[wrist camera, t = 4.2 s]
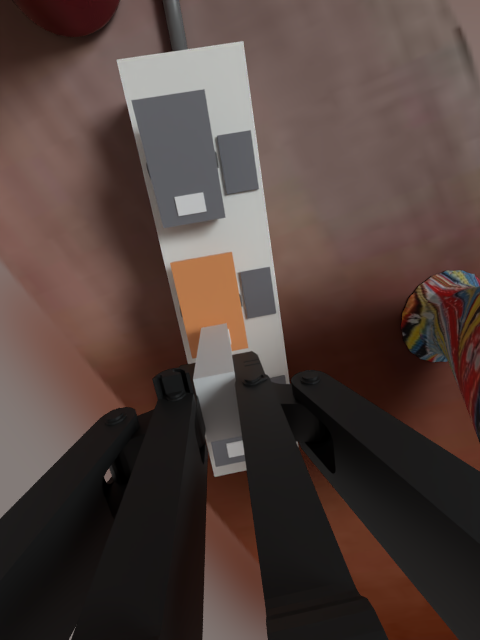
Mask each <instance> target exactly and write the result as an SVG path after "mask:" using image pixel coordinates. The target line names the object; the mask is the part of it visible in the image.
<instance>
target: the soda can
mask: <svg viewBox="0 0 480 640" xmlns="http://www.w3.org/2000/svg"><path fill="white" fill-rule="evenodd" d="M13 2H14V3H15V4H16V5H17V7H18V8H19V9H20V10H21V11H22V12H23V13H24V14H25V15H26V16H27V17H28V18H29V19H30V20H32V21H33V22H34V23H35V24H37V25H39V26H40V27H42V28H43V29H45V30H47V31H49V32H52V33H54V34H57V35H61V36H67V37H82V36H85V35H89V34H92V33H94V32H96V31H97V30H99V29H101V28H102V27H103V26H104V25H105V24H106V23H107V22H108V21H109V20H110V19H111V17H112V16H113V14H114V13H115V11H116V10H117V7H118V4H119V2H120V0H13Z"/></svg>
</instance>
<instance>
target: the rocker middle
mask: <svg viewBox="0 0 480 640" xmlns="http://www.w3.org/2000/svg"><path fill="white" fill-rule="evenodd" d="M170 265H171V270H172V274H173V278H174V283H175V287H176V291H177V295H178V300H179V304H180V313H181V316H182V318H183V321H184V325H185V330H186V334H187V338H188V343H189V347H190V351H191V355H192V359H194V358H196V357H197V351H198V345H199V339H200V333H201V328H203V327H209V326H214V325H219V324H225V323H227V328H228V334H229V339H230V344H231V349H232V351H236V350H241V349H246V348H248V343H247V337H246V331H245V325H244V319H243V313H242V308H241V307H242V306H243V305H242V299H241V295H240V294H239V290H238V284H237V278H236V272H235V267H234V261H233V255H232V252H225V253H220V254H214V255H208V256H203V257H197V258H191V259H186V260H180V261H174V262H171V263H170Z"/></svg>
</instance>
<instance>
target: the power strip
mask: <svg viewBox="0 0 480 640" xmlns="http://www.w3.org/2000/svg"><path fill="white" fill-rule="evenodd" d="M163 5H164V10H165V15H166V20H167V26H168V31H169V36H170V41H171V47H172V52H166V53H159V54H153V55H146V56H139V57H132V58H125V59H118V60H117V64H118V68H119V72H120V77H121V81H122V85H123V89H124V94H125V98H126V102H127V106H128V111H129V115H130V119H131V123H132V128H133V132H134V136H135V140H136V145H137V149H138V153H139V157H140V162H141V166H142V170H143V174H144V179H145V183H146V187H147V191H148V196H149V200H150V204H151V209H152V213H153V217H154V221H155V226H156V230H157V234H158V238H159V243H160V247H161V251H162V255H163V260H164V264H165V268H166V272H167V277H168V281H169V285H170V289H171V294H172V298H173V302H174V306H175V311H176V315H177V319H178V323H179V328H180V332H181V336H182V340H183V345H184V349H185V353H186V357H187V362H188V364H191V363H196V358H194V359H192V355H191V351H190V347H189V343H188V338H187V334H186V330H185V325H184V321H183V318H182V316H181V313H180V304H179V300H178V295H177V291H176V287H175V283H174V278H173V274H172V270H171V265H170V263H171V262H174V261H180V260H186V259H191V258H197V257H203V256H208V255H214V254H220V253H225V252H232V255H233V261H234V267H235V272H236V278H237V284H238V290H239V294H240V295H241V299H242V305H243V306H242V307H241V308H242V313H243V319H244V325H245V331H246V337H247V343H248V348H246V349H241V350H236V351H232V355H234V354H239V353H244V352H250V351H253V352H254V353H256V354H258V357H259V360H260V362H261V364H262V367H263V370H264V372H265V374H266V375H268V376H269V377H270V380H271V382H274V383H278V384H290V382H289V375H288V367H287V360H286V353H285V345H284V338H283V331H282V323H281V316H280V309H279V301H278V294H277V287H276V279H275V272H274V265H273V257H272V250H271V242H270V235H269V228H268V220H267V213H266V206H265V198H264V191H263V184H262V176H261V169H260V162H259V154H258V147H257V139H256V132H255V125H254V117H253V110H252V103H251V95H250V88H249V81H248V73H247V66H246V59H245V51H244V44H243V41H242V42H235V43H228V44H221V45H214V46H207V47H200V48H194V49H188V48H187V43H186V37H185V31H184V26H183V20H182V15H181V9H180V3H179V0H163ZM203 89H205V95H206V101H207V107H208V113H209V120H210V126H211V132H212V138H213V144H214V150H215V151H216V153H217V158H218V165H219V168H218V174H219V180H220V187H221V193H222V199H223V205H224V211H225V217H226V218H221V219H215V220H209V221H203V222H197V223H191V224H186V225H180V226H174V227H168V228H163V224H162V220H161V216H160V212H159V208H158V204H157V200H156V197H155V193H154V189H153V185H152V181H151V179H150V176H149V174H148V170H147V165H146V163H147V161H146V157H145V153H144V149H143V145H142V141H141V137H140V133H139V129H138V125H137V121H136V117H135V113H134V110H133V106H132V102H131V100H137V99H143V98H150V97H157V96H163V95H170V94H176V93H183V92H189V91H196V90H203ZM205 438H206V443H207V447H208V451H209V455H210V460H211V464H212V468H213V472H214V477H217V476H221V475H226V474H231V473H236V472H241V471H245V470H247V469H246V462H245V461H243V462H238V463H233V464H228V465H224V466H219V467H216V465H215V460H214V455H213V450H212V445H211V442H209V443H208V441H207V437H206V433H205ZM296 443H297V446H298V442H296Z"/></svg>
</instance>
